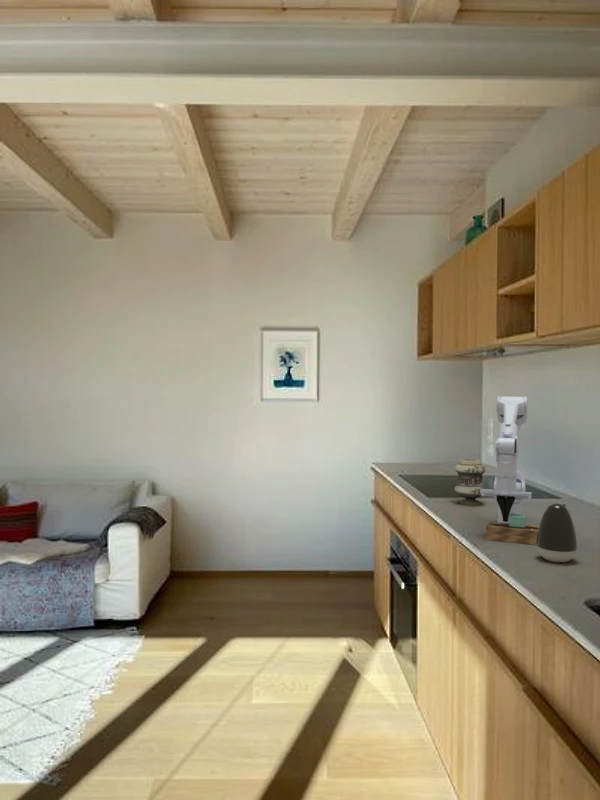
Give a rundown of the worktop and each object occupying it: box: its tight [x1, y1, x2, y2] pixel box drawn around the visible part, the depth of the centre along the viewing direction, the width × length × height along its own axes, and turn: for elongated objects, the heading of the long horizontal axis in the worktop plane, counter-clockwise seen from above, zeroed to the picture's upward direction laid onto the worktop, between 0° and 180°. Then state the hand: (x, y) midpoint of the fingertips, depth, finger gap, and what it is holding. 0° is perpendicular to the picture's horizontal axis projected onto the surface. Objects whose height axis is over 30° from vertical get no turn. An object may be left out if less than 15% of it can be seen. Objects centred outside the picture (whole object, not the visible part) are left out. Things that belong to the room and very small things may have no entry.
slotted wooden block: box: [485, 521, 539, 546], centre depth 186 cm, size 24×8×6 cm, turn 67°
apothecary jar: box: [454, 458, 487, 507], centre depth 247 cm, size 12×12×18 cm
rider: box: [509, 513, 527, 529], centre depth 188 cm, size 4×5×5 cm
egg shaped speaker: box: [535, 503, 579, 563], centre depth 166 cm, size 10×10×15 cm
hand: (505, 521), depth 189 cm, fingers closed
